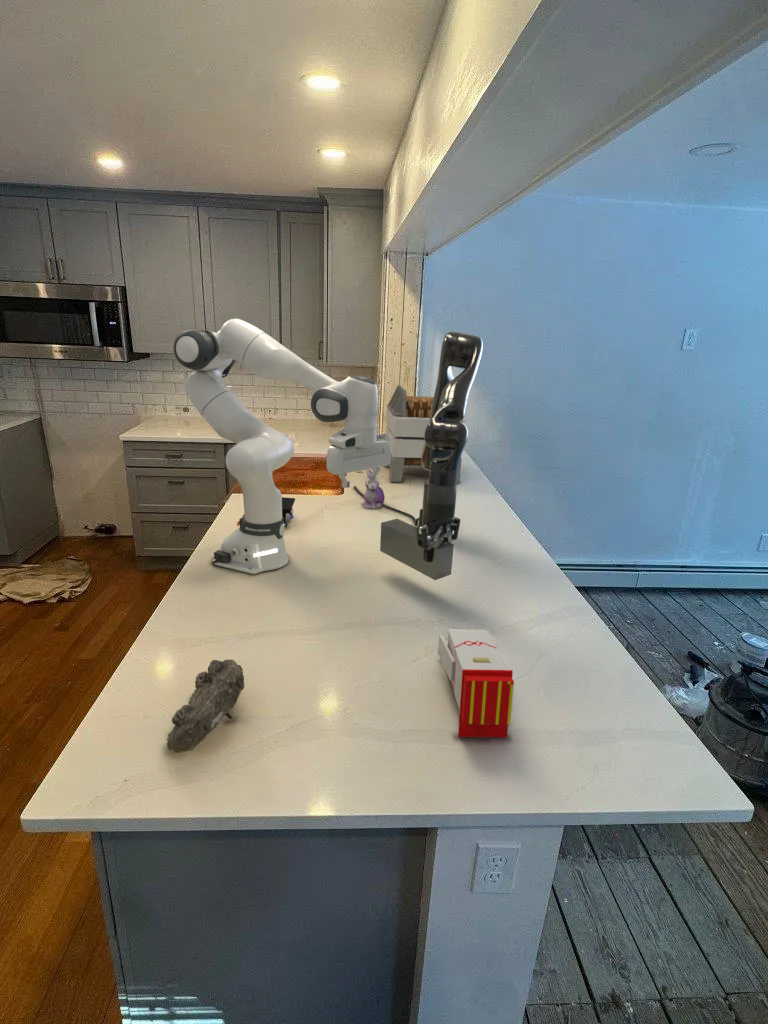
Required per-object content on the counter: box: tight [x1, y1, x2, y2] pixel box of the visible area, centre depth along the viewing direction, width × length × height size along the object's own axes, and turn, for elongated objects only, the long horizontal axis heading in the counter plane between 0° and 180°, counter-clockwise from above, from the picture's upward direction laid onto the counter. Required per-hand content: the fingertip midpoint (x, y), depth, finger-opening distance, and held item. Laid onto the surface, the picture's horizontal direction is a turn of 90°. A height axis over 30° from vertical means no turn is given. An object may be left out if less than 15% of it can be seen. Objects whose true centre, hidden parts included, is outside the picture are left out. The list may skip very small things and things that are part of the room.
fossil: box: [166, 658, 245, 754], centre depth 106 cm, size 22×10×15 cm
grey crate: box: [385, 384, 465, 484], centre depth 268 cm, size 34×33×41 cm
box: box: [379, 518, 455, 581], centre depth 157 cm, size 23×6×9 cm, turn 40°
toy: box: [437, 628, 515, 738], centre depth 117 cm, size 12×13×30 cm
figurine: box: [363, 469, 385, 509], centre depth 225 cm, size 9×10×15 cm
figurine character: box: [282, 496, 296, 528], centre depth 204 cm, size 7×8×15 cm
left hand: (359, 484), depth 160 cm, fingers open, 8 cm apart
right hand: (436, 558), depth 151 cm, fingers closed on box, 6 cm apart
